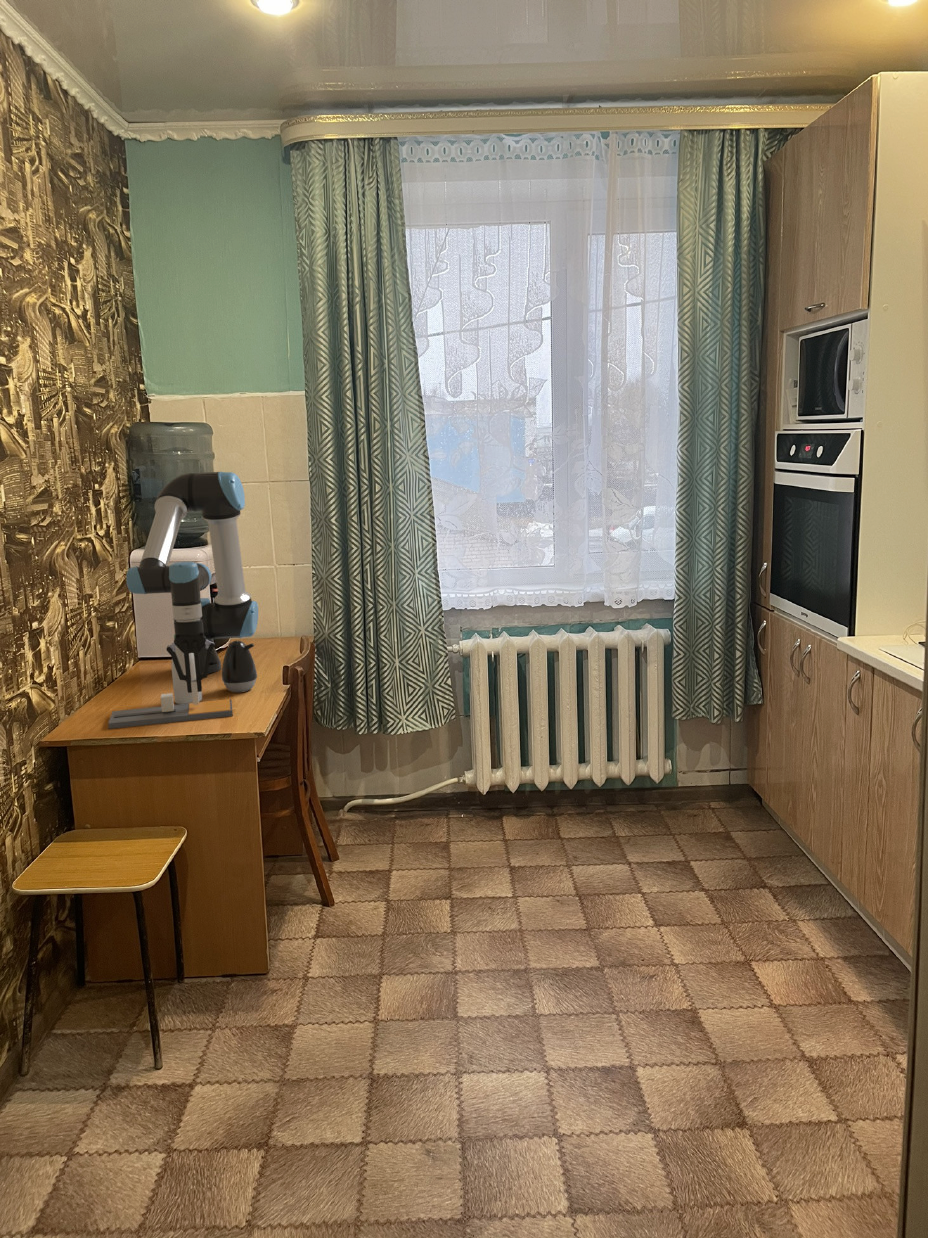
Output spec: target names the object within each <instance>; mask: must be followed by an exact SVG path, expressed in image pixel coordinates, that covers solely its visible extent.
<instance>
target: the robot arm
mask: <svg viewBox="0 0 928 1238" xmlns="http://www.w3.org/2000/svg"><path fill="white" fill-rule="evenodd" d="M245 506H246V500H245V491H244V487H243V484H242V482H241V479H240V477H239V476H238V475H237V474H236V473H235V472H232V471H231V472H229V471H226V472H225V471H210V472H208V471H207V472H195V473H192V472H189V473H183V474H180V475H179V476H176V477H174V478H173V479H171V480H170V481H169V482H168V483H166V484H165V485H164V486H163V488H162V489H161V491H160V492H159V494H157V496H156V499H155V502H154V511H155V515H154V517H153V520H152V525H151V527H150V530H149V534H148V537H147V541H146V544H145V546H144V547H145V548H144V550H143V554H142V557H141V559H140V563H139V565H138V566H133V567H129V568H128V570H127V572H126V575H125V576H126V577H125V578H126V579H125V581H126V586H127V589H128V591H129V592H130V593H131V594H137V595H138V594H139V595H147V594H150V595H151V594H153V595H154V594H170V596H171V603H172V604H171V605H172V616H173V628H174V635H175V639H174V638H173V642H172V643H171V644H169V645H167V646H166V652H167V653H168V654H169V655H170V657H171V661H172V660H173V662H174V665H175V668H176V671H177V673H178V676H179V679H180V680H184V681H186V682H187V691H188V693H192V698H193V705H198V704H199V698H198V692H201V691H203V686H202V681H203V679H206V678H208V674H213V673H216V672H218V671H219V672H220V670H221V669H222V662H221V659H220V656H219V655H218V653H217V650H216V648H215V644H216V643H215V642H214V639H242V638H250V637H252V636H254V635H255V633H256V631H257V627H258V622H259V605H258V602H257V601H255V600H252V595H251V593H249V592H248V591H247V590H246V586H245V585H246V584H245V578H244V577H245V576H244V570H243V569H244V568H243V562H242V552H241V547H240V539H239V538H240V537H239V531H238V523H237V522H238V518H239V517H240V516H241V511H242V510H244V508H245ZM189 512H201V516H202V517H201V518H202V519H203V520H205V522H207V523H208V524H207V525H208V531H209V537H210V546H211V551H212V560H213V566H214V572H215V573H214V574H215V581H216V588H217V595H216V596H215V597H214V598H213V599H214V600H213V602H211V600H210V598H209V597H201V591H203V590H206V589H207V587H208V586H209V585H210V583H211V582H212V576H213V575H212V571H211V569H210V568H209V567H208V566H207V565H206V564H204V563H200V562H198V563H197V562H195V561H178V562H173V563H171V564H170V565H169V563H170V559H171V556H172V553H173V551H174V550H173V549H174V546H175V543H176V539H177V536H178V534H179V533H178V532H179V530H180V527H181V523H182V520H183V519H185V518H186V516H187V514H188V513H189ZM176 646H177V647H178V648H179V649H180V651H181V652H182V653H184V660H185V671H186V675H184V674H183V671H182V668H181V666H180V663H179V660H178V657H177V655H176V652H175V651H176ZM189 653H194V661H195V671H196V679H193V680H191V671H190V660H189Z"/></svg>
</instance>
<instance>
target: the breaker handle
mask: <svg viewBox="0 0 928 1238" xmlns="http://www.w3.org/2000/svg"><path fill="white" fill-rule="evenodd" d="M174 703H175V701H174V692H170V693H161V694H160V706H161V707H162V712H168V711H174V705H175V704H174Z"/></svg>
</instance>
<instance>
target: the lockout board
mask: <svg viewBox="0 0 928 1238" xmlns="http://www.w3.org/2000/svg"><path fill="white" fill-rule="evenodd" d="M233 716H234V715H233V701H232V699H229V698H228V699H218V700H211V701H209V700H208V701H200V702H199V704H198V705H193V703H189V704H174V711H168V712H162V707H161V705H160V706H152V707H142V708H140V707H139V708H133V709H131V708H130V709H121V710H112V712H111V714H110V718H109V720H108V723H107V725H108V729H109V730H111V729H112V730H113V729H121V728H130V727H140V726H149V725H159V724H160V725H161V724H168V723H179V722H188V721H199V720H206V719H216V718H224V717H225V718H226V717H227V718H229V717H233Z"/></svg>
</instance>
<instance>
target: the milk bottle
mask: <svg viewBox="0 0 928 1238" xmlns="http://www.w3.org/2000/svg"><path fill="white" fill-rule="evenodd" d="M174 639H175V634H174V635H173V640H174ZM175 647H176V651H175V652H176V655H177V657H178V660H179V663H180V666H181V668H182V671H183V674H184V675H186V671H185V660H184V653H182V652H181V651H180V649H179V648H178V647H177V646H175ZM189 660H190V671H191V680H193V679H196V671H195V661H194V653H189ZM171 674H172V675H171V677H172V687H173V700H174V703H175V704H176V705H180V704H189V703H193V698H192V693H188V691H187V682H186V681H184V680H180V679H179V676H178V673H177V671H176V668H175V665H174V662H173V660H172V659H171ZM202 691H203V690H202ZM202 691H201V692H198V698H199V702H202V700H203V692H202Z"/></svg>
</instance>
